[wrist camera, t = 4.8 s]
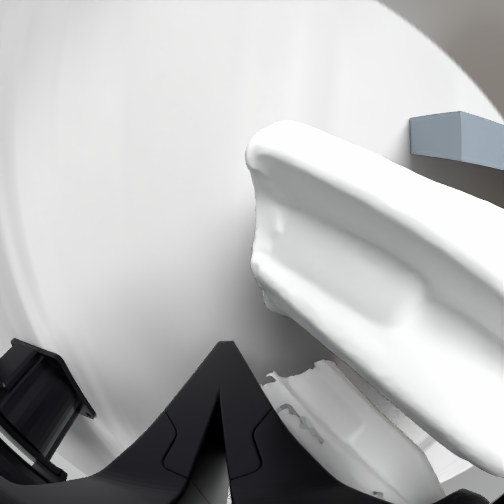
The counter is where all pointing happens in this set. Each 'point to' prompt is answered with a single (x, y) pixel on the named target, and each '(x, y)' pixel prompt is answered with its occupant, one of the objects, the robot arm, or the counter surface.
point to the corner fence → (459, 138)
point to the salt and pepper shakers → (381, 308)
